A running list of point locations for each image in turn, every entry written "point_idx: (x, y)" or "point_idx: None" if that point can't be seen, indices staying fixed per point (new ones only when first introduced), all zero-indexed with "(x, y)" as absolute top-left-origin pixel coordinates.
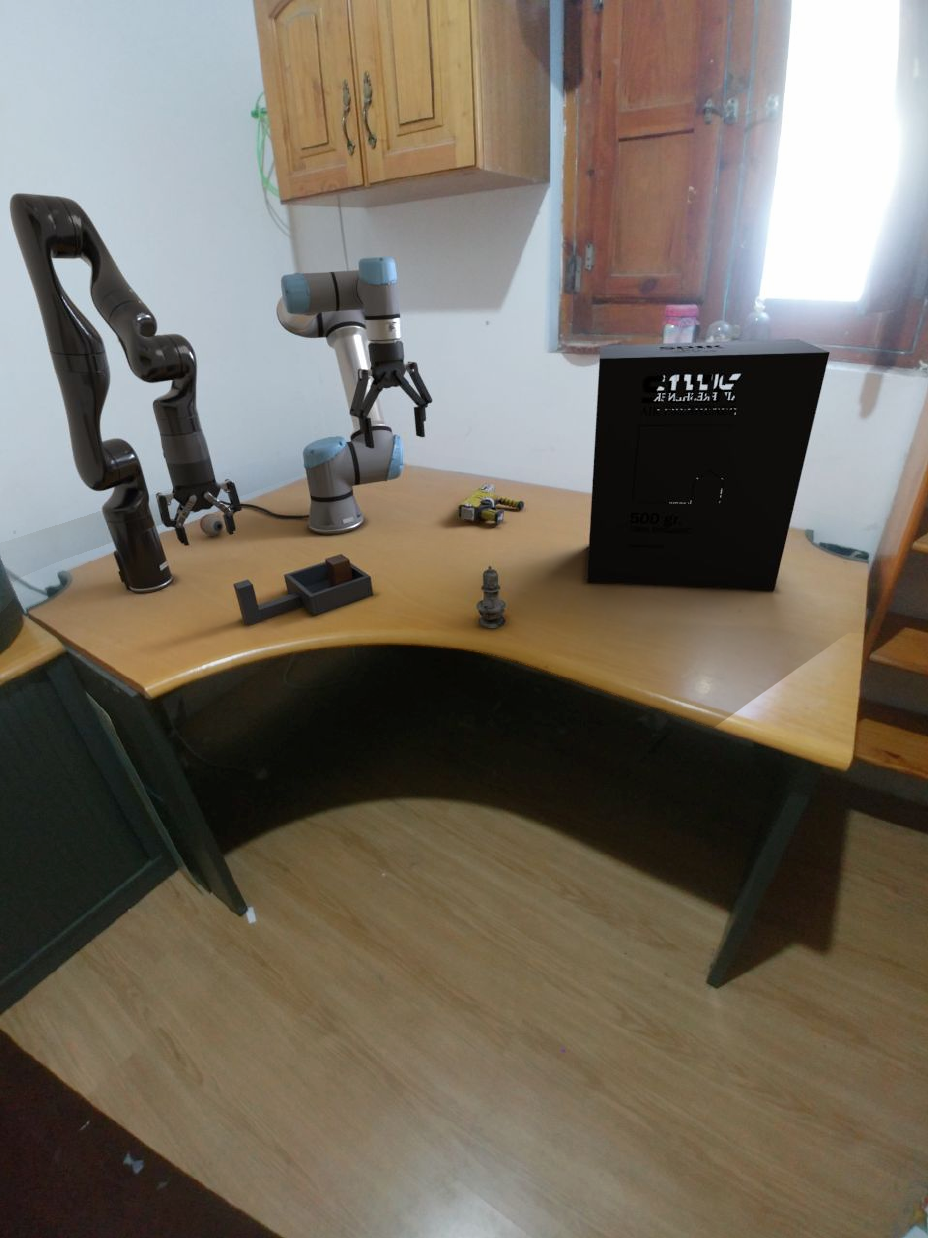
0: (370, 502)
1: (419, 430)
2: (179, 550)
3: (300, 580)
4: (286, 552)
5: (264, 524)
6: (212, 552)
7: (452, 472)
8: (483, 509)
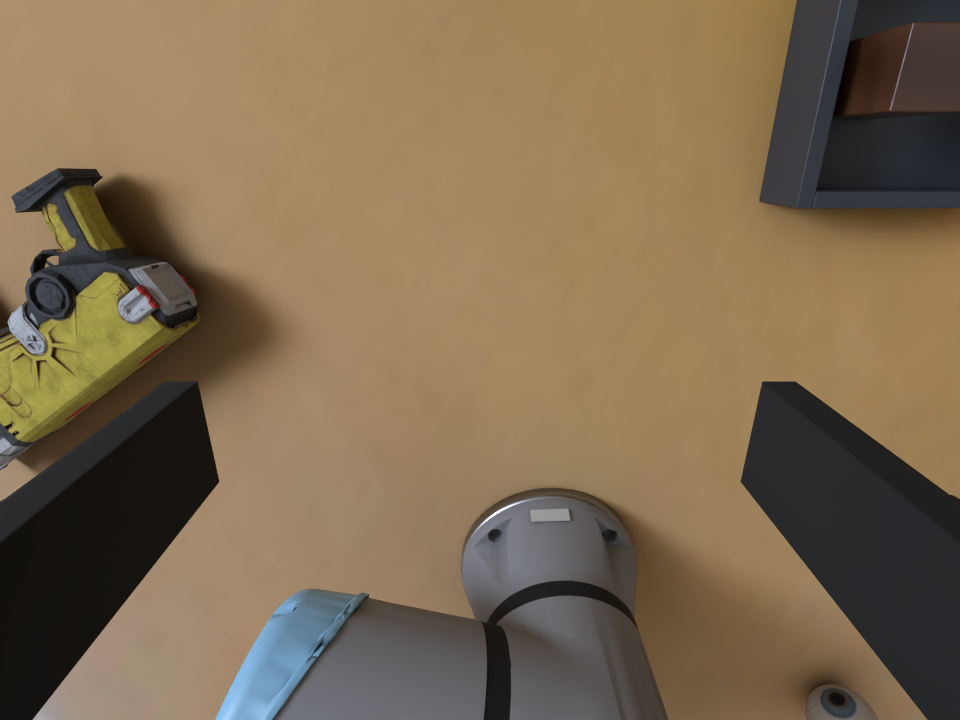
0: None
1: (173, 451)
2: None
3: (952, 188)
4: None
5: (690, 678)
6: None
7: None
8: (92, 256)
